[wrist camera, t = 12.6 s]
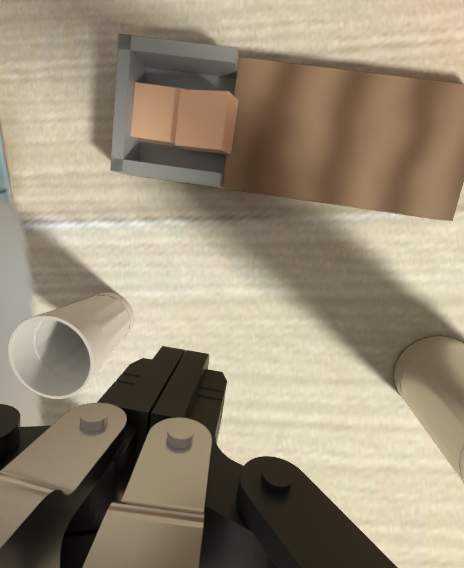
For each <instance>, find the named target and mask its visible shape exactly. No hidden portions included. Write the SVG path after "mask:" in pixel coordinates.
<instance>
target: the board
mask: <svg viewBox="0 0 464 568" xmlns="http://www.w3.org/2000/svg"><path fill="white" fill-rule="evenodd" d="M234 96H235V97H236V98H237V99H238V100H239V102H238V109H237V116H236V123H235V130H234V137H233V144H232V151H231V155H229V154H226V162H225V169H224V177H223V185H222V188H224V189H230V190H237V191H244V192H251V193H258V194H265V195H272V196H279V197H285V198H292V199H299V200H306V201H313V202H320V203H327V204H334V205H341V206H348V207H354V208H361V209H368V210H375V211H382V212H389V213H396V214H403V215H410V216H417V217H423V218H430V219H437V220H449V221H453V217H454V214H455V210H456V206H457V203H458V199H459V196H460V192H461V189H462V185H463V182H464V84H458V83H450V82H441V81H433V80H425V79H417V78H408V77H400V76H392V75H384V74H375V73H367V72H359V71H351V70H342V69H334V68H326V67H317V66H309V65H301V64H293V63H284V62H276V61H268V60H260V59H251V58H243V57H239V63H238V71H237V79H236V86H235V94H234Z"/></svg>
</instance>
